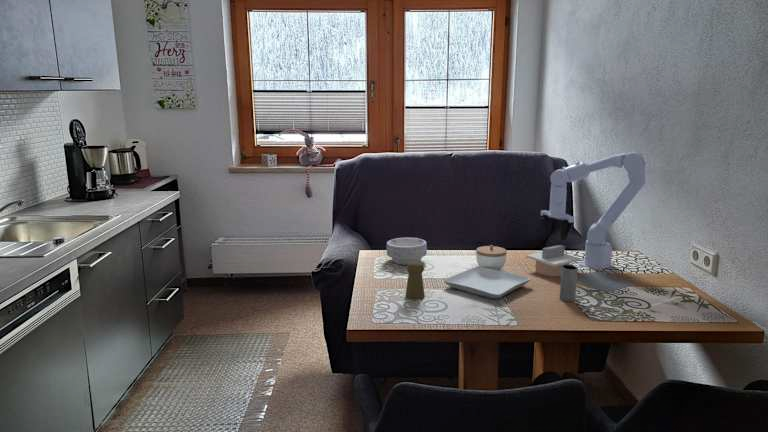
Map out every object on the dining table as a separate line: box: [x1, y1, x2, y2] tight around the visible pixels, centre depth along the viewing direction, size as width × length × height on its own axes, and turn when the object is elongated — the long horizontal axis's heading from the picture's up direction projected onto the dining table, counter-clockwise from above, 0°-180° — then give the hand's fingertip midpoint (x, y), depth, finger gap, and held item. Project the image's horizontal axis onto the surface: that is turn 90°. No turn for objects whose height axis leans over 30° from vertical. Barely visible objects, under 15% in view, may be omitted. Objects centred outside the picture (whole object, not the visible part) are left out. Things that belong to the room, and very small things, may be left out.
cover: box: [525, 244, 582, 266], centre depth 191 cm, size 13×13×4 cm
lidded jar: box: [475, 244, 507, 271], centre depth 194 cm, size 11×11×9 cm
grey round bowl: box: [386, 237, 428, 266], centre depth 205 cm, size 15×15×8 cm
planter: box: [559, 264, 578, 302], centre depth 166 cm, size 4×4×10 cm
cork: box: [404, 261, 425, 301], centre depth 168 cm, size 6×6×11 cm
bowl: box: [535, 260, 570, 277], centre depth 192 cm, size 11×11×5 cm
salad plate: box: [443, 265, 532, 299], centre depth 177 cm, size 21×21×3 cm
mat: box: [576, 270, 637, 293], centre depth 182 cm, size 16×16×1 cm
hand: (555, 237), depth 204 cm, fingers open, 7 cm apart
